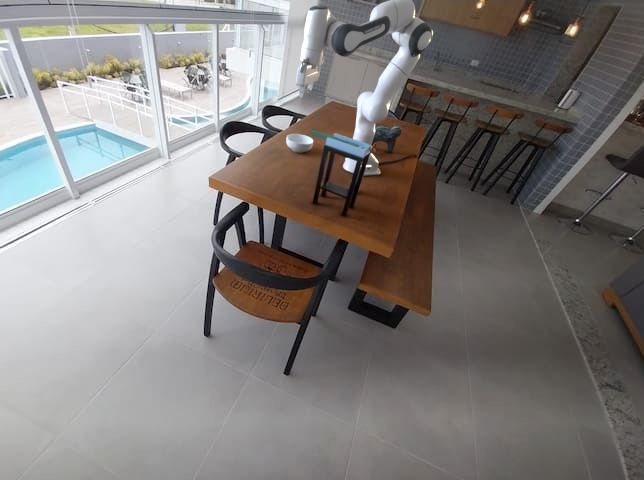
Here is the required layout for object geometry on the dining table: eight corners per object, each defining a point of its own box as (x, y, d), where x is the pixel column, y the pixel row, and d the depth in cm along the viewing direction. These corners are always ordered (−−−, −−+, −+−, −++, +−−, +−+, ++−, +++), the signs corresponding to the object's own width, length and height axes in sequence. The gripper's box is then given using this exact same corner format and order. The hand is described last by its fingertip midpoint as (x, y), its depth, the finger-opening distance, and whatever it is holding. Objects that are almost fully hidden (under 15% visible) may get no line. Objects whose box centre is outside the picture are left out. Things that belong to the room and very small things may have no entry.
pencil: (310, 134, 130) (310, 130, 129) (312, 133, 131) (313, 129, 130) (361, 151, 123) (362, 148, 122) (363, 150, 124) (364, 147, 124)
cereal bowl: (309, 158, 182) (311, 146, 177) (282, 152, 182) (283, 140, 178) (313, 148, 194) (315, 136, 189) (288, 142, 195) (289, 131, 190)
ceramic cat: (393, 151, 210) (404, 121, 197) (394, 155, 206) (405, 124, 192) (365, 146, 210) (374, 115, 197) (365, 149, 205) (375, 118, 192)
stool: (312, 203, 143) (323, 145, 125) (322, 194, 150) (334, 139, 132) (345, 216, 138) (361, 159, 120) (353, 207, 146) (370, 151, 128)
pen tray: (325, 144, 126) (327, 137, 124) (333, 140, 131) (334, 133, 129) (363, 157, 121) (365, 150, 119) (369, 152, 126) (371, 145, 124)
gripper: (310, 61, 115) (303, 101, 125) (325, 57, 130) (318, 93, 140) (294, 57, 117) (289, 97, 126) (311, 53, 131) (306, 89, 141)
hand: (305, 95), depth 133 cm, fingers open, 8 cm apart
